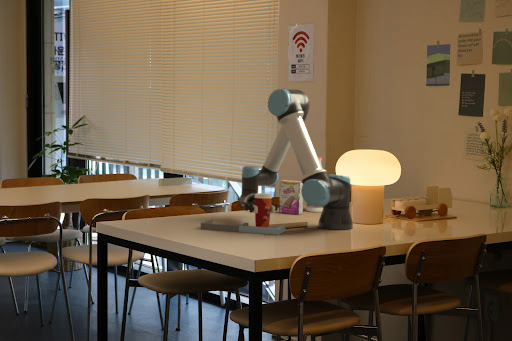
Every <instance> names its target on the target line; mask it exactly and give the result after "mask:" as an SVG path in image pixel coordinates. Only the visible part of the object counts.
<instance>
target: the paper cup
mask: <svg viewBox="0 0 512 341" xmlns="http://www.w3.org/2000/svg"><path fill="white" fill-rule="evenodd" d="M254 197H255V205H256V206H257V207H258V213H254V217H255V218H254V219H255V221H254V222H255V227H267V228H270V220H271V213H272V212H271V202H272V200H273V194H271V193H264V192H261V193H259V192H258V193H257V194H255V196H254Z"/></svg>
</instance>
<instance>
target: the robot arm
mask: <svg viewBox="0 0 512 341" xmlns="http://www.w3.org/2000/svg"><path fill="white" fill-rule="evenodd" d="M267 109H268V111H269V113H270V114H272V115H273V116H275V117H276V118H277V123H278V124H279V125H281V126H280V128H279V129H278V133H277V135H276V137H275V139H274V141H273V144H272V145H271V148H270V149H269V152H268V154H267V156H266V159H265V161H264V163H263V165H262V167H261V169H259V167H258V166H256V165H244V166H243V167H242V171H241V172H242V173H241V195H240V197H239V201H240V204H241V209H243V210H244V211H246V212H248V211H249V213H250V214H252V213H254V214H255V213H258V207H257V206H256V205H255V197H254V196H255V194H257V193H259V187H262V186H264V187H265V186H272V185H276V184H277V182H279V173H278V172H279V169H280V167H281V165H282V163H283V162H284V160H285V158H286V156H287V153H288V152H289V149H290V147H291V148H292V150H293V153H294V155H295V156H294V157H295V158H296V161H297V163H298V166H299V167H300V171H301V174H302V178H301V179H300V180H301V181H302V183H303V186H302V190H301V193H302V197H303V201H304V202H305V203H307V204H309V205H311V206H315V207H316V206H317V207H322V206H323V211H322V212H320V213H321V214H320V216H319V219H318V223H317V224H318V228H322V229H327V230H350V229H353V228H354V221H353V218H352V215H351V212H350V202H351V186H352V184H351V178H350V177H349V176H347V175H342V174H341V175H339V174H330V173H328V171H327V169H324V168H323V166H322V167H321V165H322V164H321V165H320V162H319V160H318V157H319V156H318V155H317V152H316V150H315V147H314V145H313V143H312V142H313V141H312V140H311V137H310V135H309V132H308V129H307V127H306V125H305V121H306V119H307V116H308V115H309V111H310V99H309V97H308V95H307V94H306V93H305V92H304V91H303V90H299V89H290V88H277V89H275V90H273V91H272V92H271V93H270V94H269V97H268V99H267ZM322 168H323V169H322ZM277 211H279V204H276V203H274V202H272V201H271V212H270V213H272V214H276V212H277Z"/></svg>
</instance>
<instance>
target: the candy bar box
mask: <svg viewBox="0 0 512 341" xmlns="http://www.w3.org/2000/svg"><path fill="white" fill-rule="evenodd" d="M302 186H303V183H302V181H298V180H289V179H282V180H280V181H279V197H278V198H279V199H278V200H279V201H278V202H279V204H278V213H279V214H285V215H286V214H287V215H297V216H300V215H303V212H304V211H303V207H304V206H303V205H304V199H303V197H302V193H301V190H302Z"/></svg>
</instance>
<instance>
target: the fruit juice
mask: <svg viewBox="0 0 512 341" xmlns="http://www.w3.org/2000/svg"><path fill="white" fill-rule="evenodd" d="M317 157H318V160H319V162H320V165H321V167H322V169H324V168H323V166H322V160H323V158H322V156H317ZM305 203H306V202H305ZM305 211H306V212H308V211H309V212H308V213H322V211H323V206H322V207H317V206H316V207H315V206H311V205H309V204H307V203H306V210H305Z"/></svg>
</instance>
